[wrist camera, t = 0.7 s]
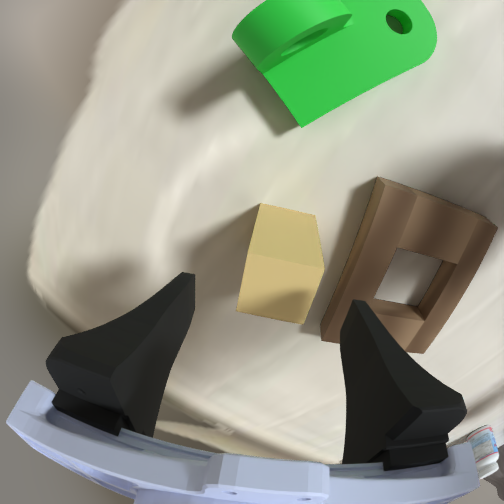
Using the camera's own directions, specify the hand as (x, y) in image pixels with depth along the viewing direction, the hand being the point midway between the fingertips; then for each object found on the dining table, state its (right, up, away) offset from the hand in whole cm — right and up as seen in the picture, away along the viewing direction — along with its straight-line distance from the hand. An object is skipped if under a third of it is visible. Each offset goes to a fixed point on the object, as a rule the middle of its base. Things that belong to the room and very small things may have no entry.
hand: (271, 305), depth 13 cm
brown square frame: (+12, +1, +9) cm, 15 cm away
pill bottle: (+46, -35, +25) cm, 63 cm away
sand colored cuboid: (+1, +4, +9) cm, 10 cm away
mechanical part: (+5, +16, +2) cm, 17 cm away
